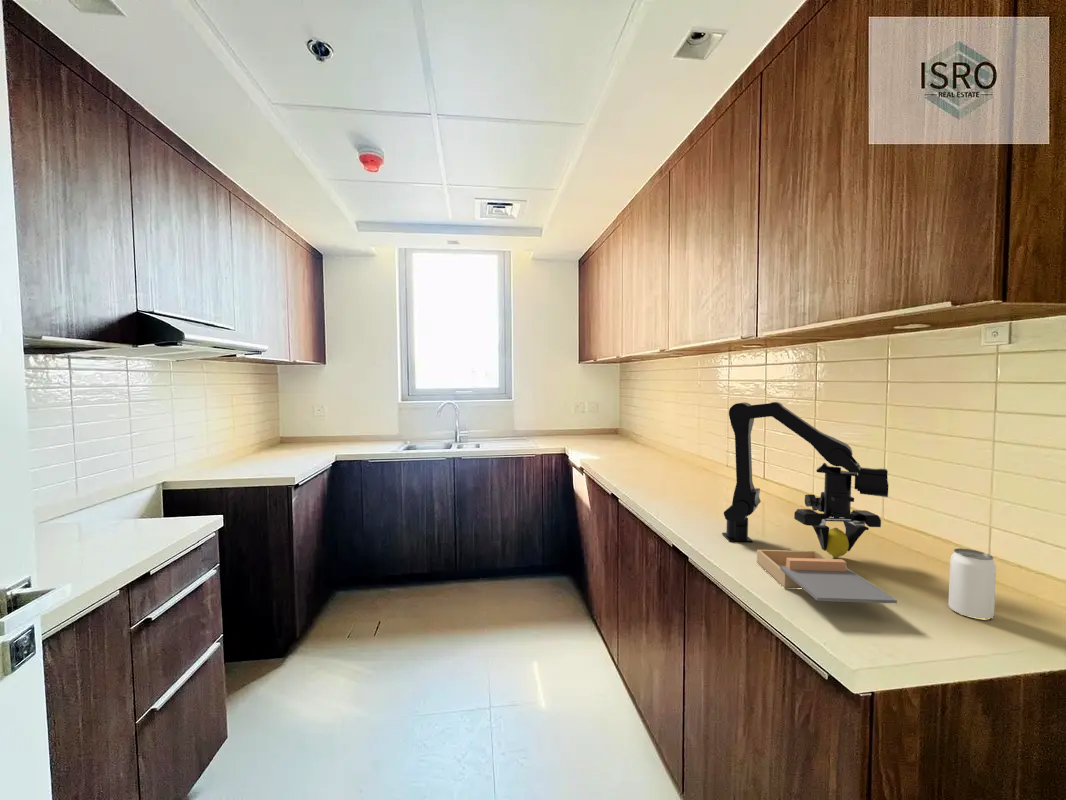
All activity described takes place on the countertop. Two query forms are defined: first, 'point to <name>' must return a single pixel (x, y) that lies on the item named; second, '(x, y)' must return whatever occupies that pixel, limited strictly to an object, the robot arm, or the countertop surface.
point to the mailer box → (782, 563)
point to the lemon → (837, 543)
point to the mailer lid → (833, 581)
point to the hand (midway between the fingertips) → (835, 550)
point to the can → (972, 583)
